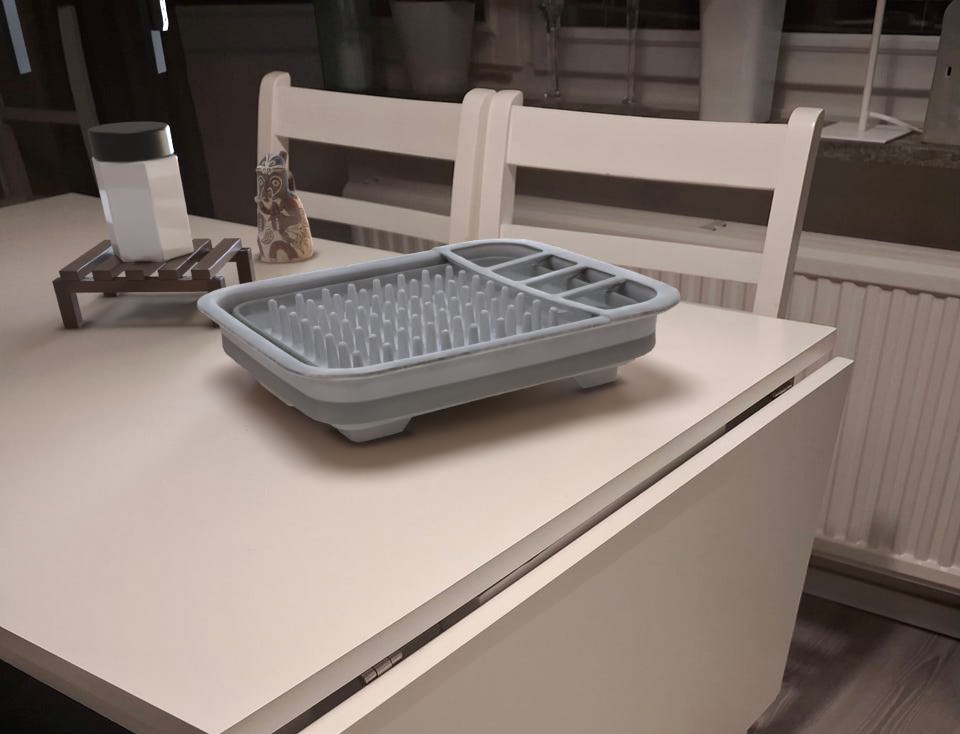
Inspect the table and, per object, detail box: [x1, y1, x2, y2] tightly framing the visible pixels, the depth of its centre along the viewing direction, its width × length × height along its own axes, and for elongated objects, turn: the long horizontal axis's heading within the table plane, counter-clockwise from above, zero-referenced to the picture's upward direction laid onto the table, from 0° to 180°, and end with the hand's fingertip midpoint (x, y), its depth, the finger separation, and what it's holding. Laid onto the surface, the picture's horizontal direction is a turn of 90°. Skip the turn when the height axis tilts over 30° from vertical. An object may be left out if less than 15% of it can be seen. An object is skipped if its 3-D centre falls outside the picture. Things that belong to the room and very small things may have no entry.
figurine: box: [254, 150, 314, 264], centre depth 128 cm, size 7×7×12 cm
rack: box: [52, 237, 257, 330], centre depth 112 cm, size 18×14×6 cm
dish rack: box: [196, 238, 682, 443], centre depth 92 cm, size 32×37×8 cm
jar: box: [87, 121, 194, 262], centre depth 106 cm, size 9×8×12 cm
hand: (90, 73), depth 99 cm, fingers open, 13 cm apart
